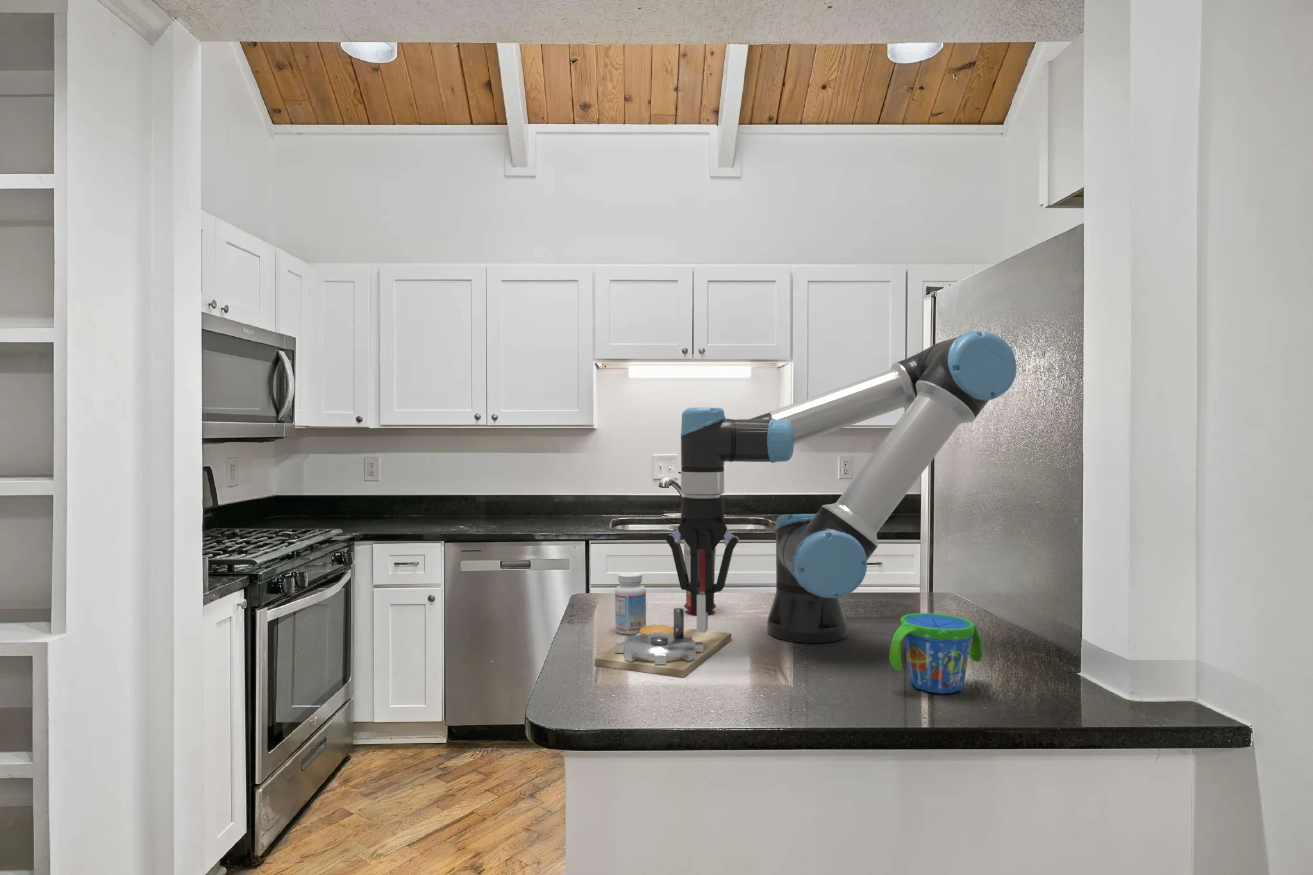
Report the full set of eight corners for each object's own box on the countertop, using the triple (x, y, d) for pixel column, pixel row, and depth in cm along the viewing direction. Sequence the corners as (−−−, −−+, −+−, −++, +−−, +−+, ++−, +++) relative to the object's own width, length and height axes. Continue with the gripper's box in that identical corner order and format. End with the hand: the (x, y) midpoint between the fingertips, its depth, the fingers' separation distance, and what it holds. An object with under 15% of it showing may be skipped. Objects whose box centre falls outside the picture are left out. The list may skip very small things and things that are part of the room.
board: (731, 639, 141) (731, 633, 141) (683, 677, 119) (683, 670, 119) (653, 630, 148) (653, 624, 148) (594, 665, 126) (594, 658, 126)
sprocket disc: (660, 670, 119) (660, 630, 119) (597, 652, 129) (597, 614, 129) (721, 650, 129) (720, 613, 129) (658, 634, 140) (657, 600, 140)
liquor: (680, 608, 166) (680, 481, 166) (713, 607, 167) (713, 481, 167) (685, 616, 159) (685, 484, 159) (720, 615, 160) (719, 483, 160)
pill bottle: (647, 627, 150) (647, 571, 150) (644, 635, 144) (644, 577, 144) (617, 626, 151) (617, 570, 151) (612, 635, 145) (612, 576, 145)
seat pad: (682, 629, 144) (682, 627, 144) (667, 638, 138) (667, 636, 138) (649, 625, 147) (649, 623, 147) (633, 634, 141) (633, 632, 141)
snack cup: (960, 672, 121) (960, 609, 121) (1004, 694, 111) (1004, 625, 111) (872, 680, 118) (872, 615, 118) (909, 703, 107) (909, 632, 107)
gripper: (742, 494, 134) (742, 627, 134) (670, 493, 137) (670, 623, 137) (736, 498, 126) (736, 638, 127) (661, 496, 130) (661, 633, 130)
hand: (702, 630), depth 132 cm, fingers closed
